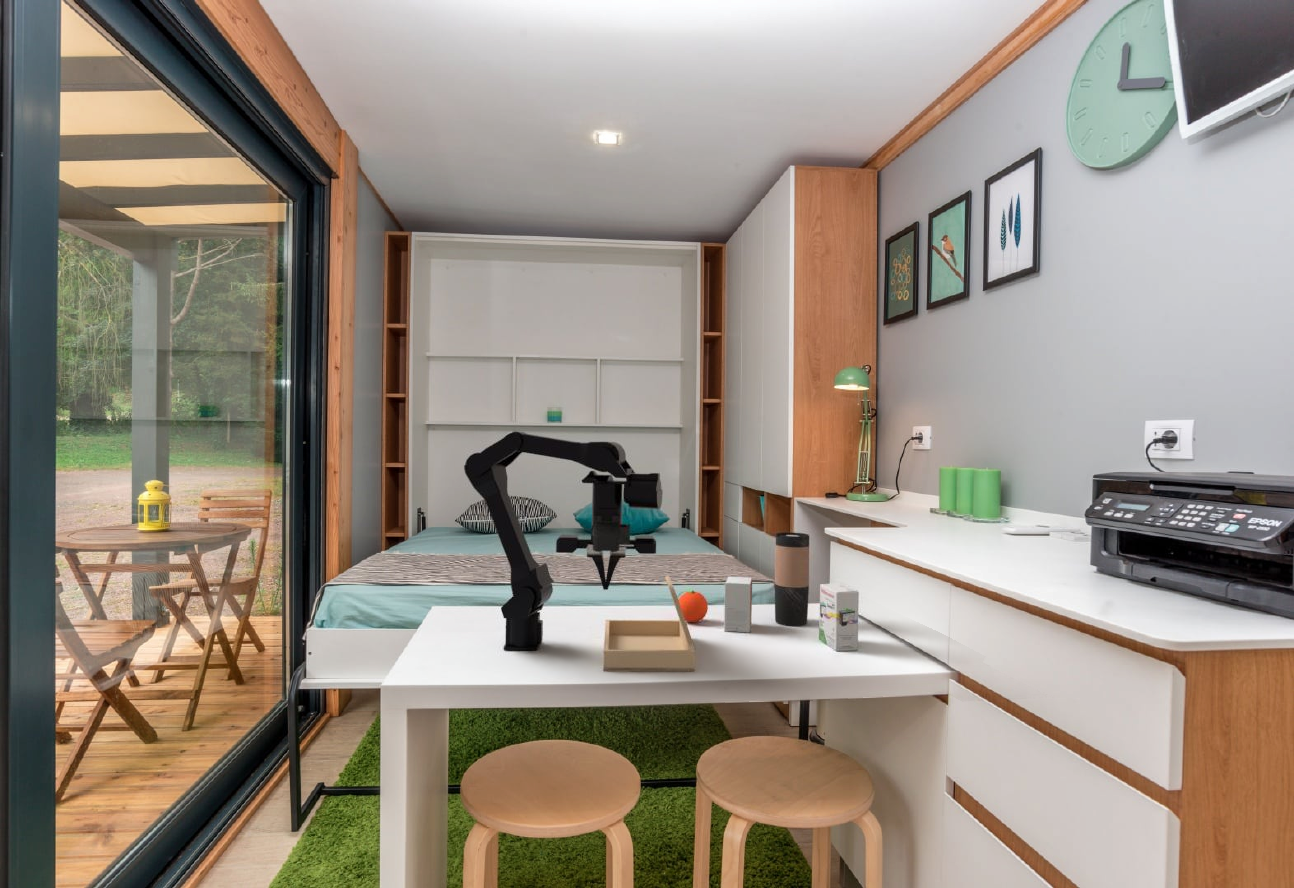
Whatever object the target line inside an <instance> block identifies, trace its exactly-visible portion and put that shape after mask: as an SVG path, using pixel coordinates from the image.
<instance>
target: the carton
mask: <svg viewBox="0 0 1294 888" xmlns="http://www.w3.org/2000/svg"><path fill="white" fill-rule="evenodd" d="M603 641H604V642H603V643H604V644H603V668H602V669H603V670H602V671H603V672H695V671H696V670H695V669H696V668H695V667H696V666H695V665H696V651H695V648H694V646H693V644H691V645H689V644H688V641H687V638H686V635H685V633H684V630H683V627H682V625H681V622H680V619H679V620H677V619H672V620H671V619H605V624H604V640H603Z"/></svg>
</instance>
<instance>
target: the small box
mask: <svg viewBox="0 0 1294 888" xmlns="http://www.w3.org/2000/svg"><path fill="white" fill-rule="evenodd" d="M752 601H753V577H745V576H744V577H742V576H728V577H727V578H726V581H725V582H724V614H723V615H724V618H723V619H724V620H723V621H724V622H723V623H724V624H723V625H724V626H723V628H724V629H723V631H725V632H733V631H737V632H736V633H750V632H751V627H752V609H753V608H752V605H753V602H752Z"/></svg>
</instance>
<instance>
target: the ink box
mask: <svg viewBox="0 0 1294 888" xmlns="http://www.w3.org/2000/svg"><path fill="white" fill-rule="evenodd" d="M859 592H860V591H858V590H857V589H855V588H853V587H851V586H849V585H847V584H845V583H842V582H835V583H821V584H819V620H818V621H819V623H818V624H819V625H818V626H819V629H818V630H819V631H818V640H819V641H821V642H822V643H824V644H825V645H827V647H829V648H831V649H832V650H833V651H836V652H844V651H845V652H846V651H847V652H849V651H851V652H852V651H858V649H859V603H860V600H859V594H860V593H859Z"/></svg>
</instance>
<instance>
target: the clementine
mask: <svg viewBox="0 0 1294 888" xmlns="http://www.w3.org/2000/svg"><path fill="white" fill-rule="evenodd" d="M681 594H682V595H681ZM679 596H680V597H679ZM677 597H678V600H679V603H680V606H681V609H682V612H683V615H684V618H685V621H686V623H687V622H688V623H691V622H692V623H693V622H695V623H698V622H701V620H703V619H704V618H705V617H706V615H707V613H708V609H709V607H708V601H707V599H706V597H705V596H704V594H702V593H701V592H698V591H694V590H685V591H682V592H680V593H678V595H677Z"/></svg>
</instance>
